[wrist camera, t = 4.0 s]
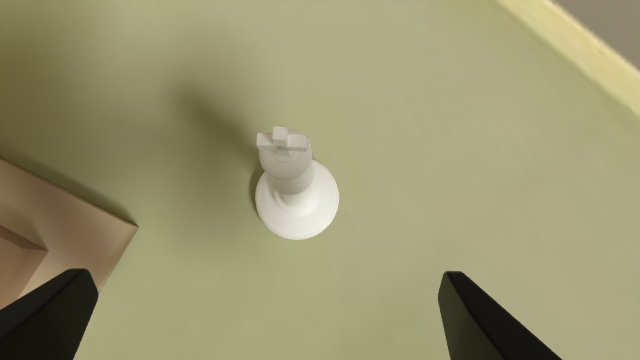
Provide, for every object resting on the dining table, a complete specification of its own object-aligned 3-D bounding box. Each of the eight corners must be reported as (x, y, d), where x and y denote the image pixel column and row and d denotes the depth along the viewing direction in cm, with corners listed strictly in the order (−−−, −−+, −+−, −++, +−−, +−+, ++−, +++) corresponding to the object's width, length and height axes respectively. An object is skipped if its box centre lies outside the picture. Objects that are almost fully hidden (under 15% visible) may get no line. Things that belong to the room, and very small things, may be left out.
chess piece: (259, 156, 22) (213, 61, 12) (340, 160, 22) (358, 69, 12) (251, 237, 20) (192, 204, 11) (337, 242, 20) (354, 213, 11)
